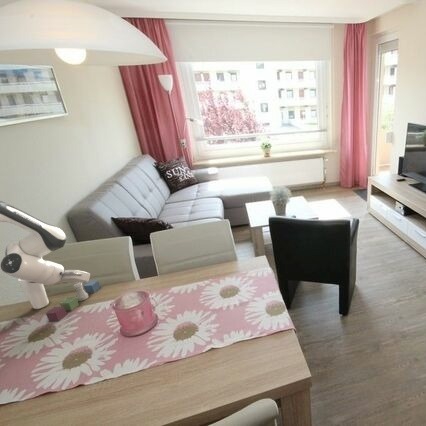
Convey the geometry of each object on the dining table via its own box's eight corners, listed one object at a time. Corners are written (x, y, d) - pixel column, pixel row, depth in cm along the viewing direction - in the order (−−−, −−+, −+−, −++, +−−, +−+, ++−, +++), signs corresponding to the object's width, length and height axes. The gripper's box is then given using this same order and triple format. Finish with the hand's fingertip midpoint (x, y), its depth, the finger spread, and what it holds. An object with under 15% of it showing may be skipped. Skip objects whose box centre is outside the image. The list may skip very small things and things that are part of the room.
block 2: (71, 310, 125) (68, 302, 123) (62, 311, 125) (59, 303, 123) (79, 304, 128) (76, 297, 127) (70, 305, 129) (67, 297, 127)
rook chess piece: (79, 302, 130) (72, 287, 127) (75, 299, 132) (69, 284, 130) (90, 297, 133) (85, 282, 131) (87, 294, 136) (81, 279, 133)
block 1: (58, 321, 119) (55, 313, 117) (49, 321, 119) (45, 313, 117) (67, 314, 122) (63, 306, 121) (57, 314, 122) (54, 307, 121)
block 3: (94, 292, 137) (91, 285, 136) (86, 293, 137) (83, 285, 136) (100, 287, 141) (98, 280, 139) (92, 288, 141) (89, 280, 139)
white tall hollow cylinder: (27, 310, 127) (13, 280, 122) (43, 300, 133) (30, 272, 128) (39, 311, 126) (26, 281, 121) (55, 301, 132) (43, 272, 127)
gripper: (77, 264, 119) (101, 273, 131) (28, 266, 119) (57, 274, 132) (71, 280, 116) (97, 287, 129) (22, 282, 117) (52, 288, 129)
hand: (76, 281), depth 130 cm, fingers open, 8 cm apart
